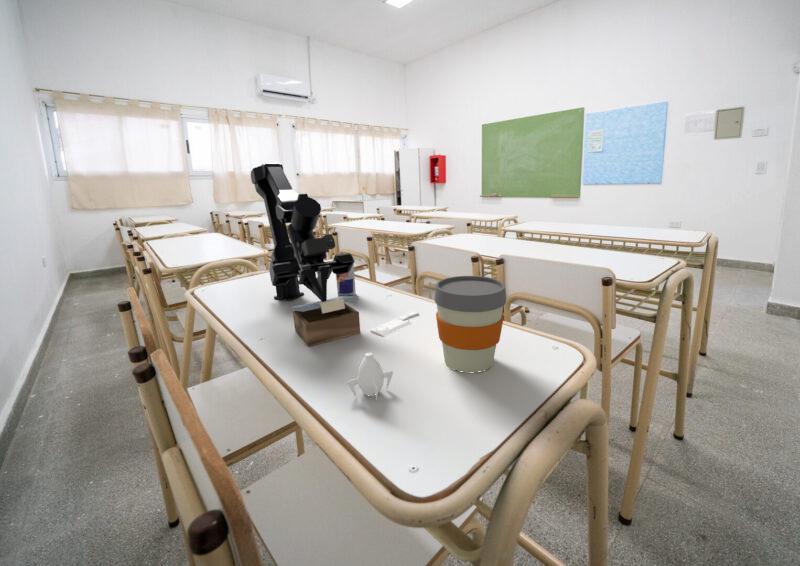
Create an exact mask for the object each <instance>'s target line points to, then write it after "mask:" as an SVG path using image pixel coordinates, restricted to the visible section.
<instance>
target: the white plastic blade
mask: <svg viewBox="0 0 800 566" xmlns="http://www.w3.org/2000/svg"><path fill="white" fill-rule="evenodd" d="M419 315H420V313H419V312H418V311H415V310H414V311H411V312H410V313H407V314H405V315H402V316H400V317H398V318H395V319H393V320H390V321H388V322H385V323H384V324H381V325H380V326H377V327H374V328H372V329H370V333H373V334H375V335H378V336H381V337H382V338H384V337H386V336H388V334H389V335H391V334H393V333H392V332H393V331H396V330H397V329H400V328H402V329H404V328H403V327H405V328H406V326H407V327H409V326H411V325H413V324H412V323H413V322H411V321H409V319H411V318H413V317H416V316H419ZM410 317H411V318H410ZM406 319H407V320H406ZM404 320H405V321H404ZM408 325H409V326H408ZM400 330H401V329H400ZM396 332H397V331H396ZM390 333H391V334H390Z"/></svg>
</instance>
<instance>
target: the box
mask: <svg viewBox="0 0 800 566" xmlns="http://www.w3.org/2000/svg"><path fill="white" fill-rule="evenodd" d="M344 305H345V308H344V309H340V310H336V311H331V312H327V313H322V310H321V308H317V309H313V310H308V311H304V312H303V311H293V310H292V317H293V324H294V331H295V333H296V334H297V335H298V336H299V337H300V338H301V340H302V341H303V342H304V343H305V344H306V345H307V346H308V347H313V346H318V345H321V344H325V343H327V342H332V341H335V340H339V339H343V338H346V337H350V335H351V336H354V335H357V333H358V334H361V323H360V322H361V321H360V312H359V311H358V310H356V309H354V308H353V307H352V306H350V305H349V304H348V303H347V302H344ZM353 334H354V335H353Z"/></svg>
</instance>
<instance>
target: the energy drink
mask: <svg viewBox="0 0 800 566" xmlns="http://www.w3.org/2000/svg"><path fill="white" fill-rule="evenodd" d="M335 278H336V288H337V289H336V290H337V297H341V296H356V292H357V291H356V281H355V280H356V279H355V266H354V264H353V265H352V267H351V269H350V271H349V272H348V273H345V274H340V275H336V274H335Z"/></svg>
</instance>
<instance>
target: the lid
mask: <svg viewBox="0 0 800 566" xmlns="http://www.w3.org/2000/svg"><path fill="white" fill-rule="evenodd" d="M358 300H359V296H358V295H354V296H341V297H339V296H337V297H331V298H328V299H327V300H326V301H324V302H322V301H321V300H317V301H314V302H313V301H312V302H308V303H304V304H298V305H295V306H291V307H290V308H291V311H292V312H293V311H303V312H304V311H308V310H313V309H317V308H321V310H322V313H327V312H331V311H336V310H340V309H344V308H345V305H344V303H348V302H353V301H358Z"/></svg>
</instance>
